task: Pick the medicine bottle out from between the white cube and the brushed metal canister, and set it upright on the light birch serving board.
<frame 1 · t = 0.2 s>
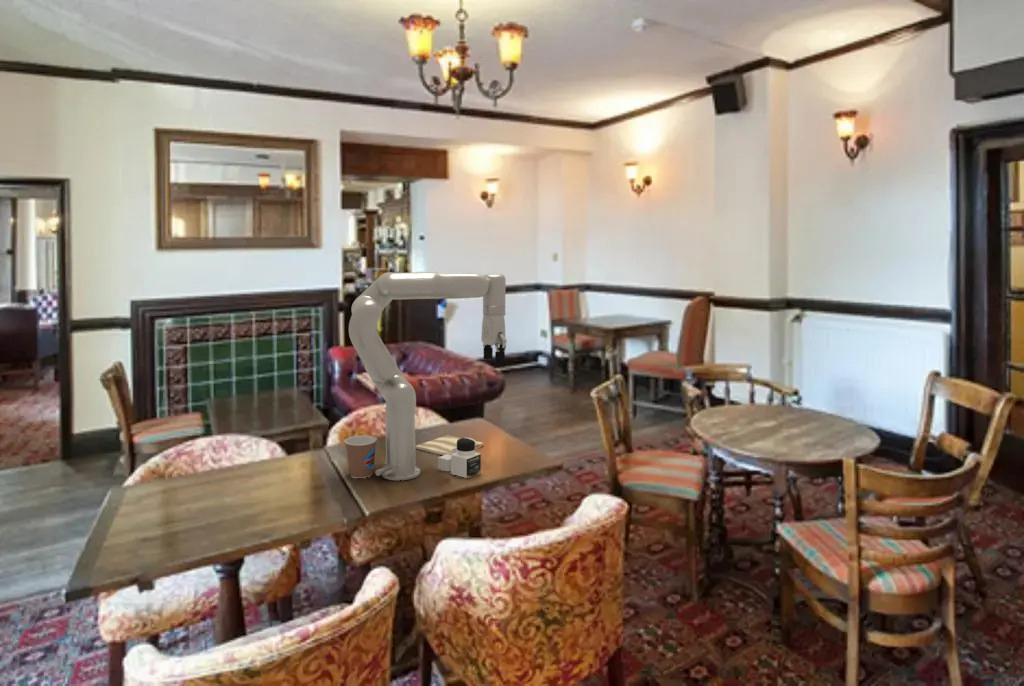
hand: (493, 361, 217), 36 cm above the table, tool pointing down, fingers open, 9 cm apart
birch board: (449, 448, 240), on the table
metal canister: (458, 463, 222), on the table
white cube: (447, 469, 216), on the table
coffee cup: (361, 475, 210), on the table
medicine bottle: (465, 474, 212), on the table
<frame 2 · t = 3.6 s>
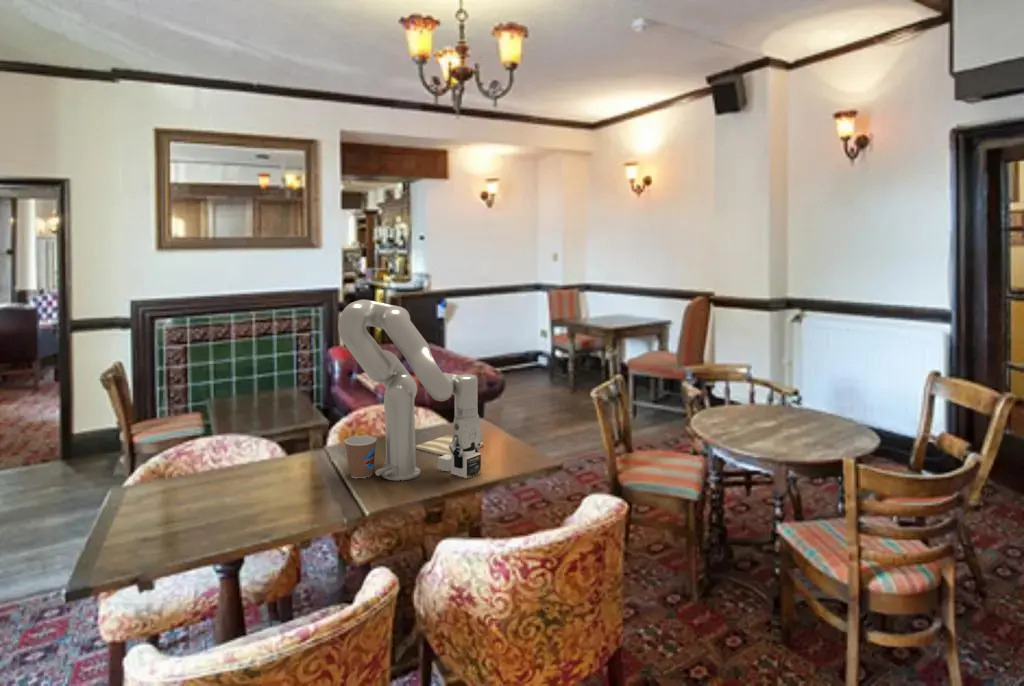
hand: (466, 464, 211), 3 cm above the table, tool pointing down, fingers closed on medicine bottle, 7 cm apart
medicine bottle: (466, 474, 212), on the table, touching gripper
everything else where it was.
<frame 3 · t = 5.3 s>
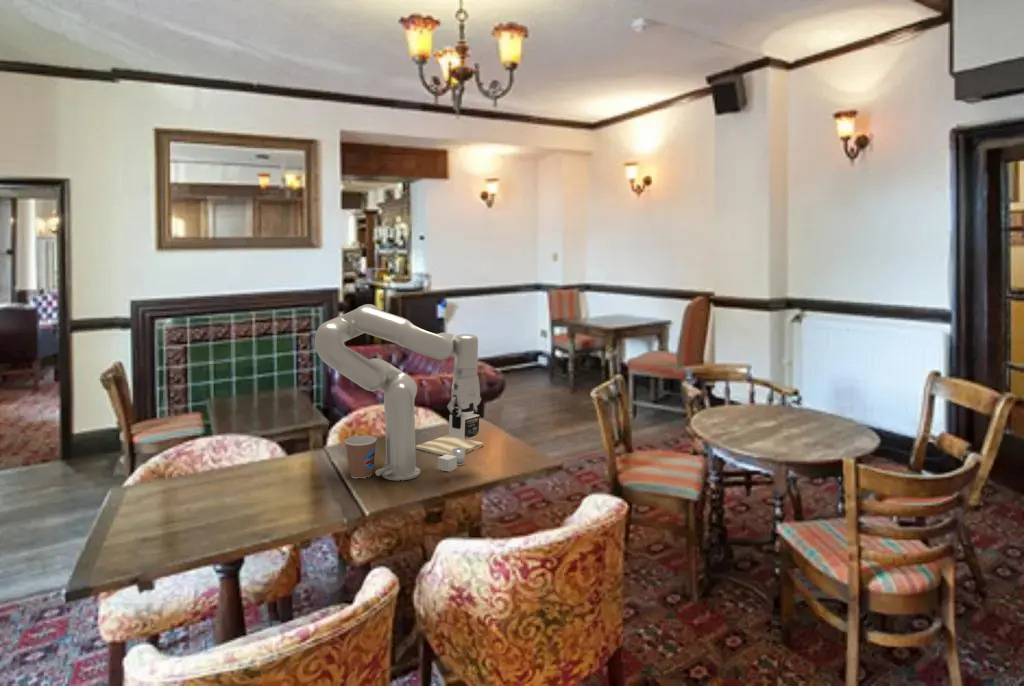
hand: (464, 425, 209), 17 cm above the table, tool pointing down, fingers closed on medicine bottle, 7 cm apart
medicine bottle: (463, 436, 210), point 13 cm above the table, touching gripper
everything else where it was.
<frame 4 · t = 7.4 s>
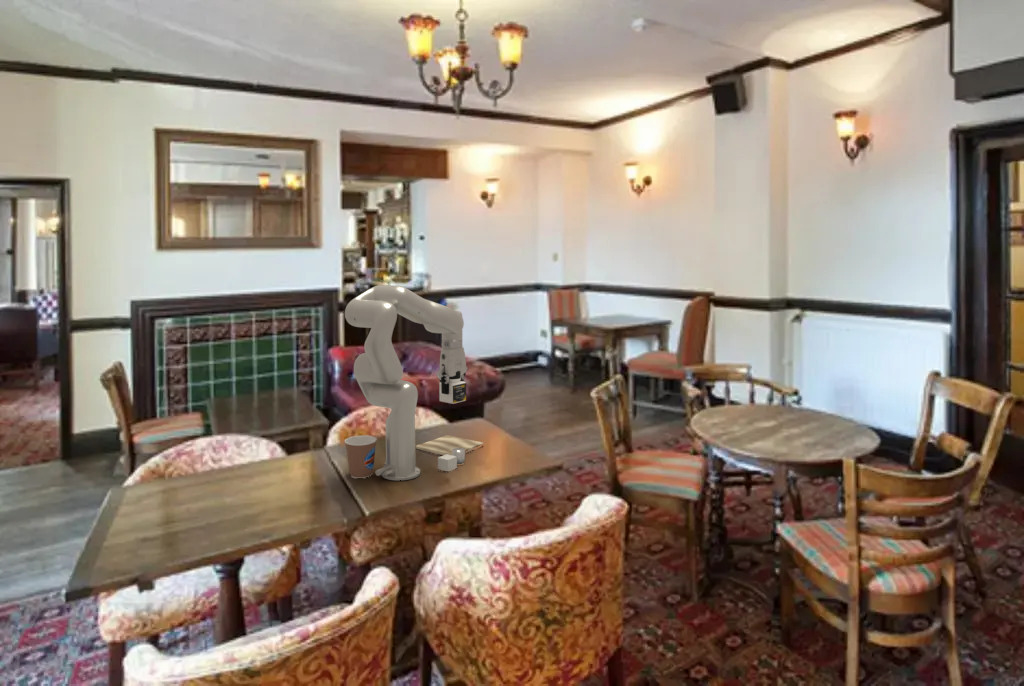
hand: (452, 391, 236), 22 cm above the table, tool pointing down, fingers closed on medicine bottle, 7 cm apart
medicine bottle: (452, 401, 236), point 18 cm above the table, touching gripper
everything else where it was.
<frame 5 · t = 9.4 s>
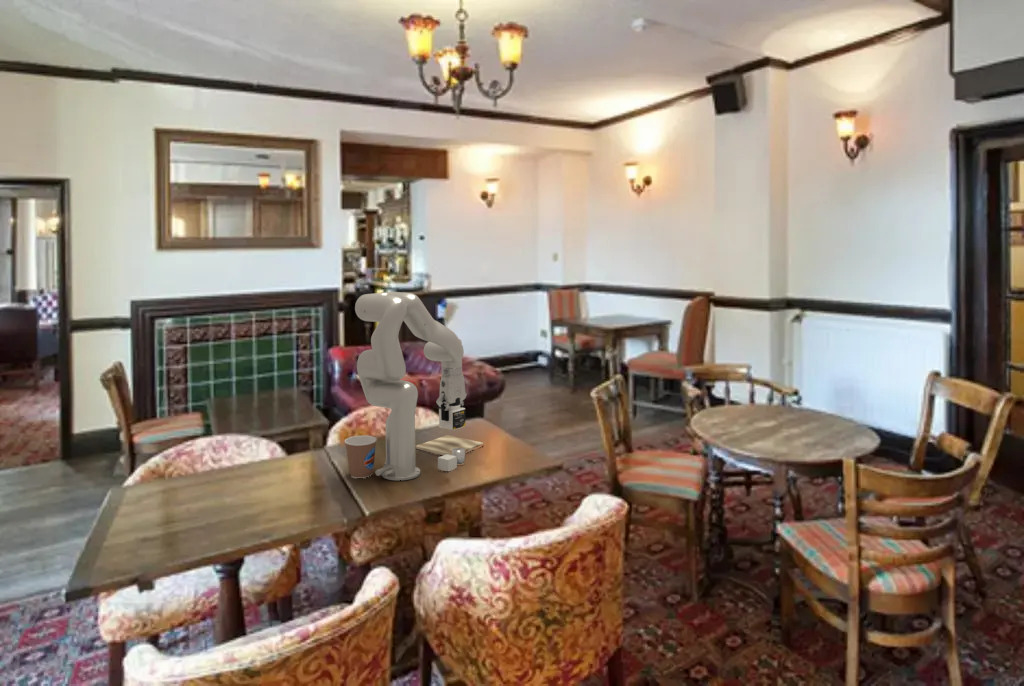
hand: (452, 417, 238), 12 cm above the table, tool pointing down, fingers closed on medicine bottle, 7 cm apart
medicine bottle: (452, 427, 239), point 8 cm above the table, touching gripper
everything else where it was.
when the fingers open (6 cm above the table, at t = 11.1 s): medicine bottle stays where it is, resting on birch board.
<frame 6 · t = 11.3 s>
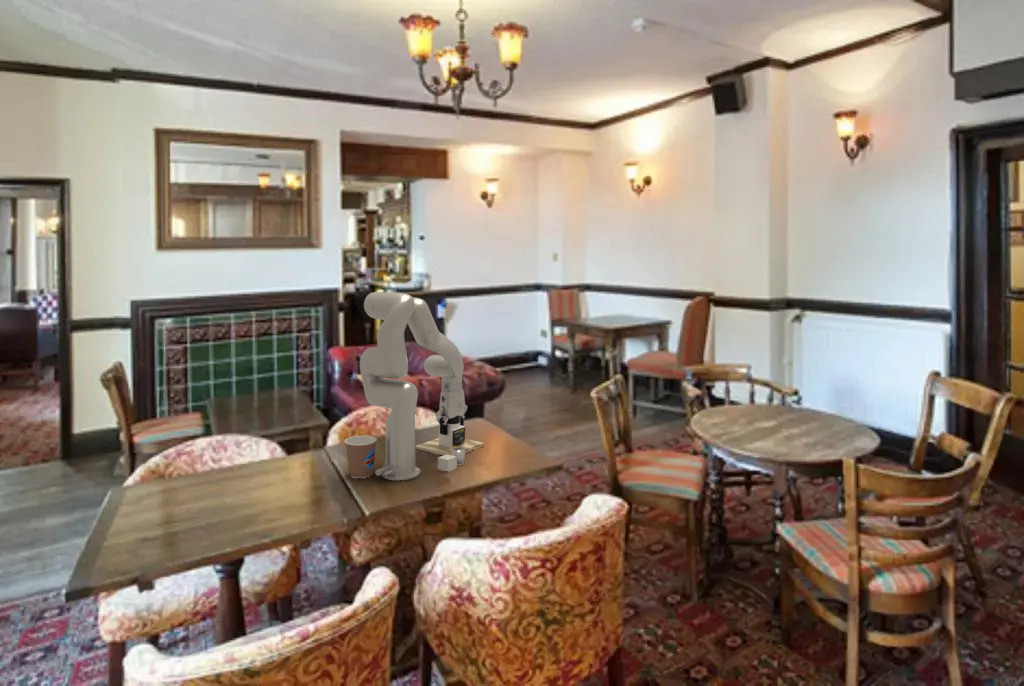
hand: (451, 431, 239), 7 cm above the table, tool pointing down, fingers open, 9 cm apart
medicine bottle: (451, 445, 239), point 1 cm above the table, touching birch board
everything else where it was.
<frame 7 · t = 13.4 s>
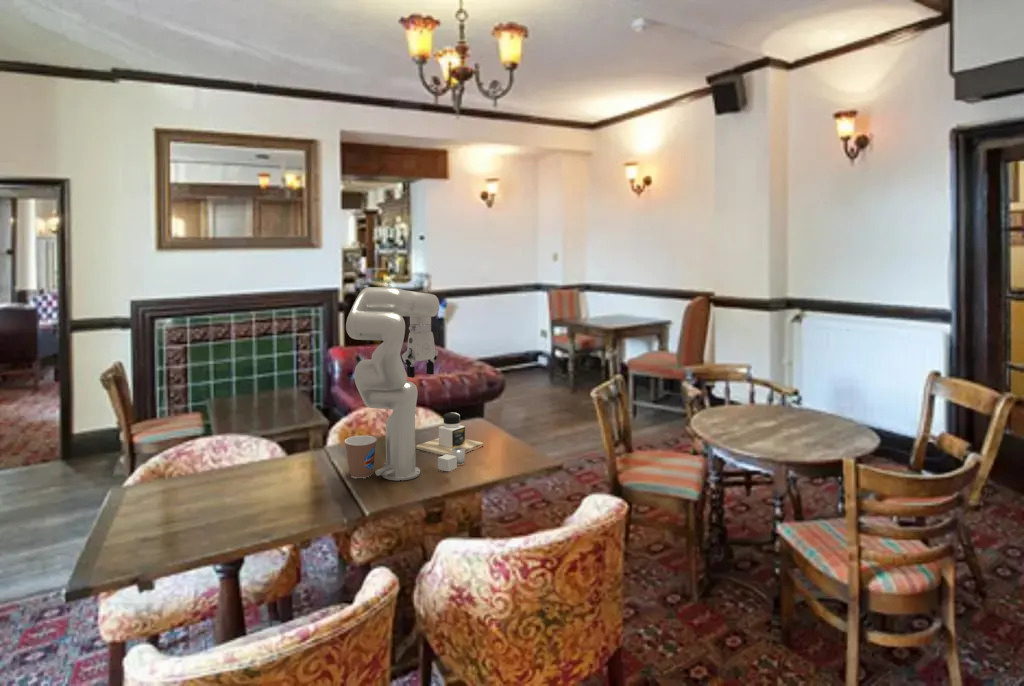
hand: (420, 375, 232), 28 cm above the table, tool pointing down, fingers open, 9 cm apart
nothing on the table moved.
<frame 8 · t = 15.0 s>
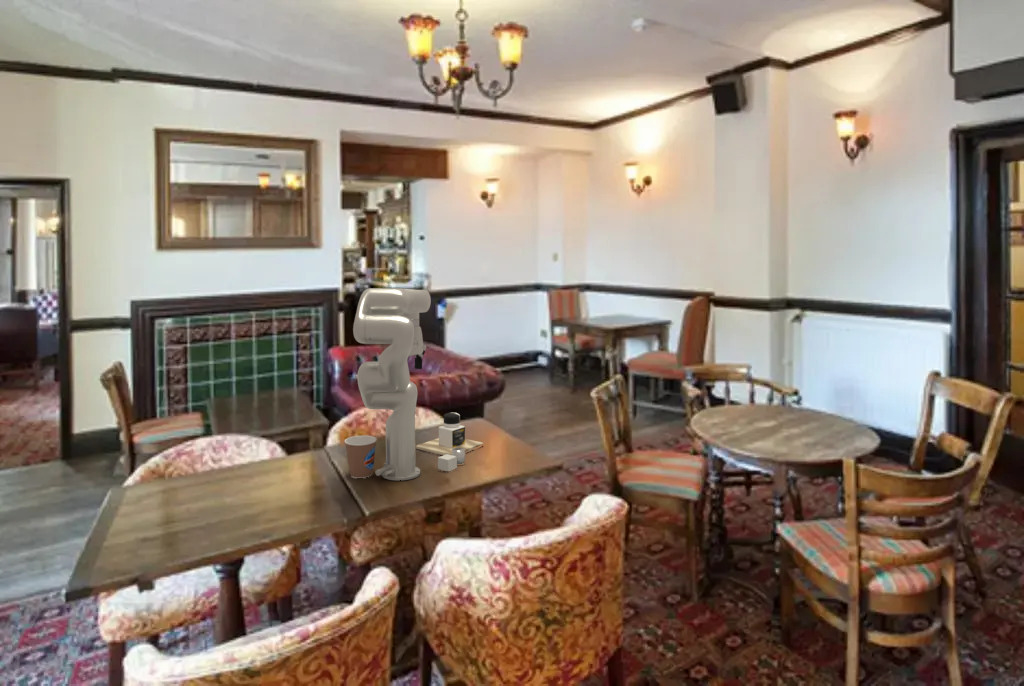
hand: (409, 370, 231), 30 cm above the table, tool pointing down, fingers open, 9 cm apart
nothing on the table moved.
at the end: medicine bottle inside the target area on the birch board (1.1 cm from its centre), point 1.3 cm above the birch board's base; medicine bottle tilted 0°; the gripper is holding nothing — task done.
